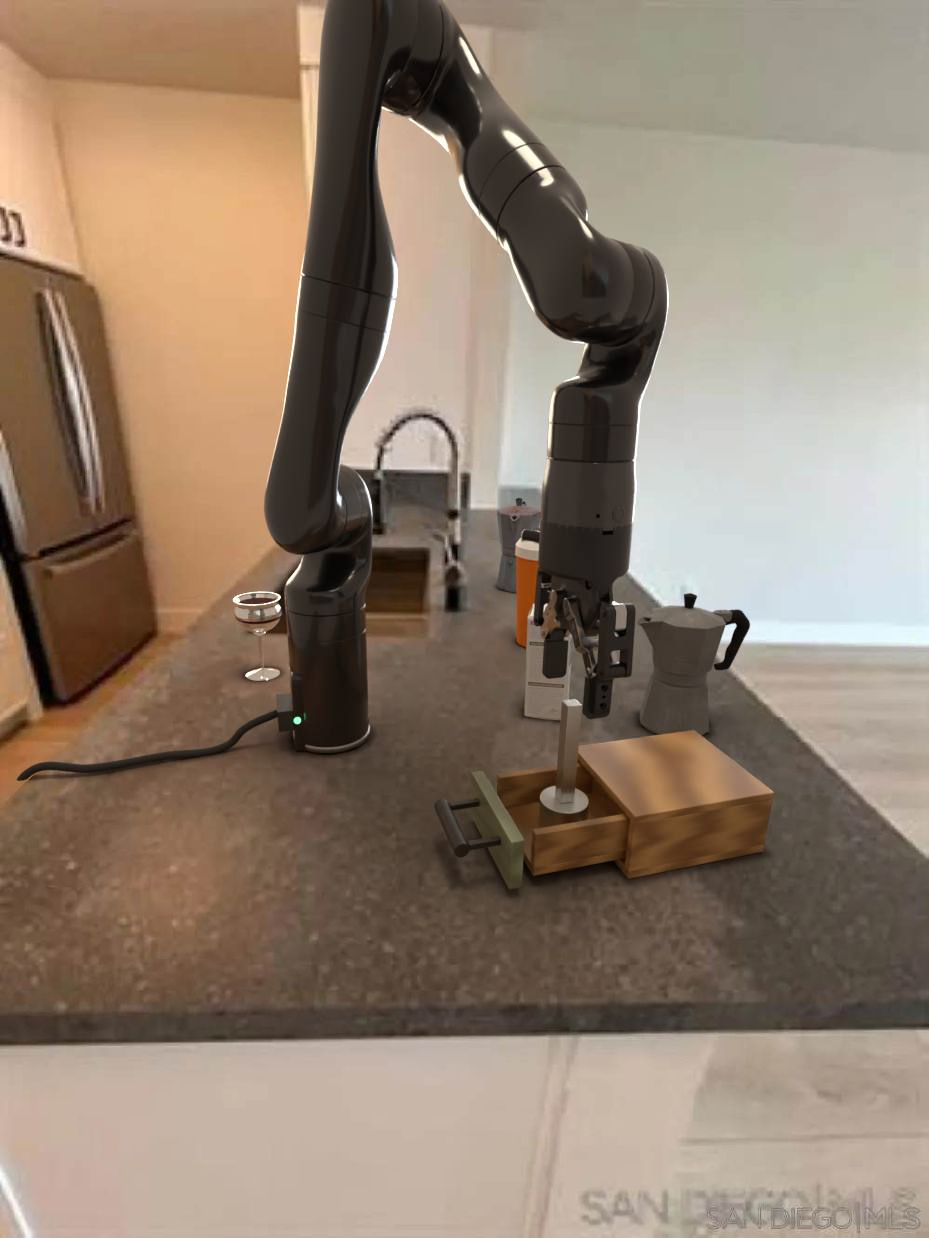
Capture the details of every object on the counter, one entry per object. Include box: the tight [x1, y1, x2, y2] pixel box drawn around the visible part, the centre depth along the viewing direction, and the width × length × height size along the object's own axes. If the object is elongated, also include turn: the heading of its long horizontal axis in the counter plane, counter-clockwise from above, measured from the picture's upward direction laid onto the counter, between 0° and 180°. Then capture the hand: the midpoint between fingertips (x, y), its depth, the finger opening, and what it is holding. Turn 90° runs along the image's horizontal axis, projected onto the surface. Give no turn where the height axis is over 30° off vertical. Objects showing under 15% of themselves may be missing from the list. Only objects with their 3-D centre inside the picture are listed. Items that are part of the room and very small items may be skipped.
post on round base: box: [538, 698, 589, 828], centre depth 62 cm, size 5×5×13 cm
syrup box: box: [523, 604, 573, 721], centre depth 90 cm, size 6×6×14 cm
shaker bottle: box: [515, 526, 548, 648], centre depth 114 cm, size 9×9×20 cm
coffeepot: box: [636, 592, 751, 737], centre depth 87 cm, size 15×9×18 cm, turn 101°
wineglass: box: [232, 591, 283, 682], centre depth 100 cm, size 7×7×12 cm
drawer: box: [433, 762, 630, 890], centre depth 63 cm, size 18×11×5 cm, turn 107°
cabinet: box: [577, 730, 775, 880], centre depth 67 cm, size 15×13×7 cm
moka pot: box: [496, 497, 541, 593], centre depth 148 cm, size 10×15×20 cm, turn 171°
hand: (573, 695), depth 60 cm, fingers open, 8 cm apart
